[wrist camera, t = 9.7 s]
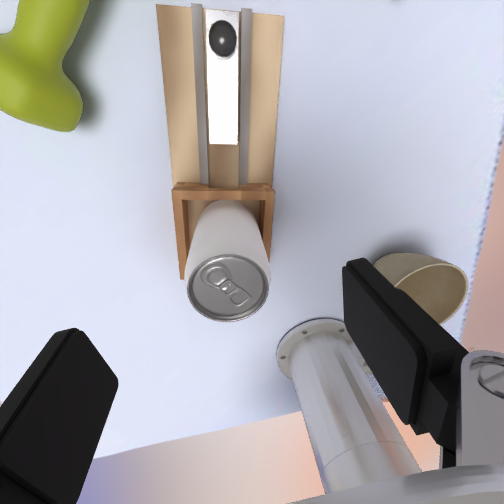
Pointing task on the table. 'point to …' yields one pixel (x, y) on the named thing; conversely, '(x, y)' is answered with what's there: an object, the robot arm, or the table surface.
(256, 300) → the can
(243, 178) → the mount
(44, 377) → the robot arm
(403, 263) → the flower pot
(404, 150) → the table surface
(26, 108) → the dumbbell
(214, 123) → the lock bolt
